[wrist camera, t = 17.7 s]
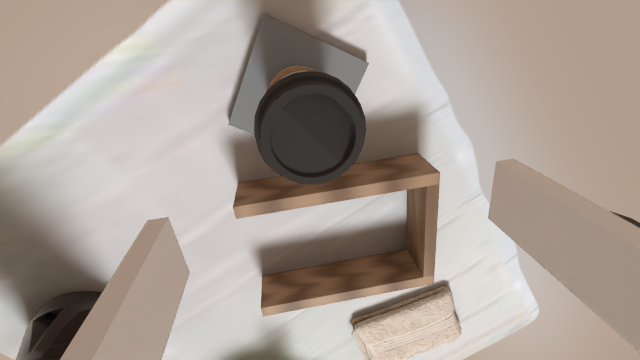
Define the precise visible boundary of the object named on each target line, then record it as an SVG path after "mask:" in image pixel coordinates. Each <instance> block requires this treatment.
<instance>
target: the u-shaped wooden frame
mask: <svg viewBox="0 0 640 360" xmlns="http://www.w3.org/2000/svg"><path fill="white" fill-rule="evenodd" d="M439 181H440V172H439V171H438V170H437V169H435V168H434V167H433V166H432V165H431V164H430V163H429V162H427V161H426V160H425V159H424V158H423V157H422V156H421V155H420V154H413V155H407V156H401V157H395V158H389V159H383V160H377V161H370V162H364V163H358V164H353V165H352V166H351V167H350V168H349V169H348V170H347V171H346V172H345V173H343V174H342V175H341V176H339V177H338V178H335V179H333V180H331V181H328V182H326V183H321V184H315V185H310V184H300V183H296V182H293V181H290V180H288V179H286V178H284V177H283V176H278V177H272V178H266V179H260V180H254V181H247V182H241V183H238V186H237V191H236V196H235V200H234V205H233V209H234V213H235V216H236V219H238V218H243V217H249V216H255V215H261V214H267V213H273V212H279V211H285V210H290V209H296V208H302V207H308V206H314V205H320V204H326V203H332V202H337V201H343V200H349V199H355V198H361V197H367V196H373V195H379V194H384V193H390V192H396V191H402V190H407V250H402V251H397V252H391V253H386V254H380V255H375V256H369V257H364V258H358V259H353V260H348V261H342V262H337V263H331V264H326V265H320V266H315V267H309V268H304V269H299V270H293V271H288V272H282V273H277V274H271V275H266V276H262V296H261V310H262V314H263V316H268V315H273V314H278V313H283V312H288V311H294V310H299V309H304V308H309V307H314V306H320V305H325V304H330V303H335V302H340V301H346V300H351V299H356V298H361V297H366V296H372V295H377V294H382V293H387V292H392V291H398V290H403V289H408V288H413V287H418V286H424V285H429V284H434V269H435V251H436V234H437V216H438V199H439Z"/></svg>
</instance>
